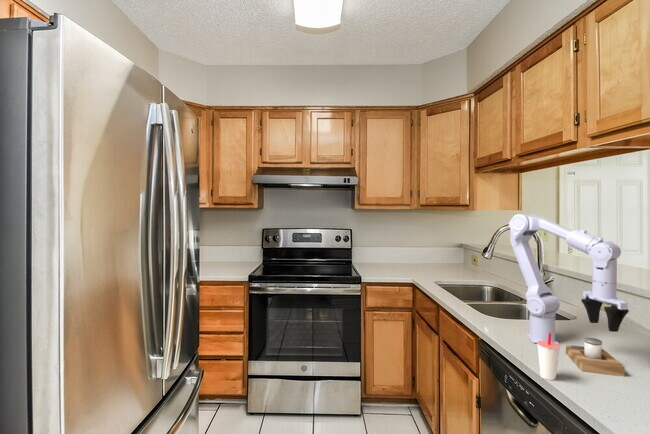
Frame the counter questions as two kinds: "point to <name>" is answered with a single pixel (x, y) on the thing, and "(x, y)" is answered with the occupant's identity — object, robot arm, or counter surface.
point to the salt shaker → (592, 348)
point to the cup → (548, 358)
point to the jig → (595, 362)
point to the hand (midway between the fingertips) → (603, 326)
